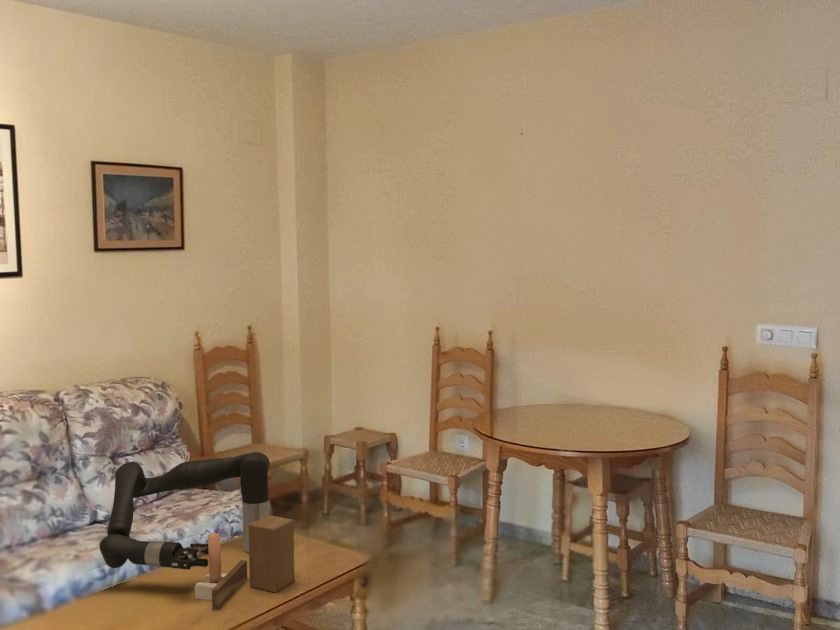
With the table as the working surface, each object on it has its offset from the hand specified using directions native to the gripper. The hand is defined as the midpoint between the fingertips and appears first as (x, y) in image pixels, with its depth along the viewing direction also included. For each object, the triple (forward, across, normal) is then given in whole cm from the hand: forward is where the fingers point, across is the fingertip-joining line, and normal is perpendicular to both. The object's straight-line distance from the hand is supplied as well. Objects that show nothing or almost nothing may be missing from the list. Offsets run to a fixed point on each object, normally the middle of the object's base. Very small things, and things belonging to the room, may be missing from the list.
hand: (213, 557), depth 248 cm
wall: (+5, 0, +11) cm, 12 cm away
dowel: (0, 0, +11) cm, 11 cm away
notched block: (0, 0, +11) cm, 11 cm away
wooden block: (+15, +9, +11) cm, 21 cm away
